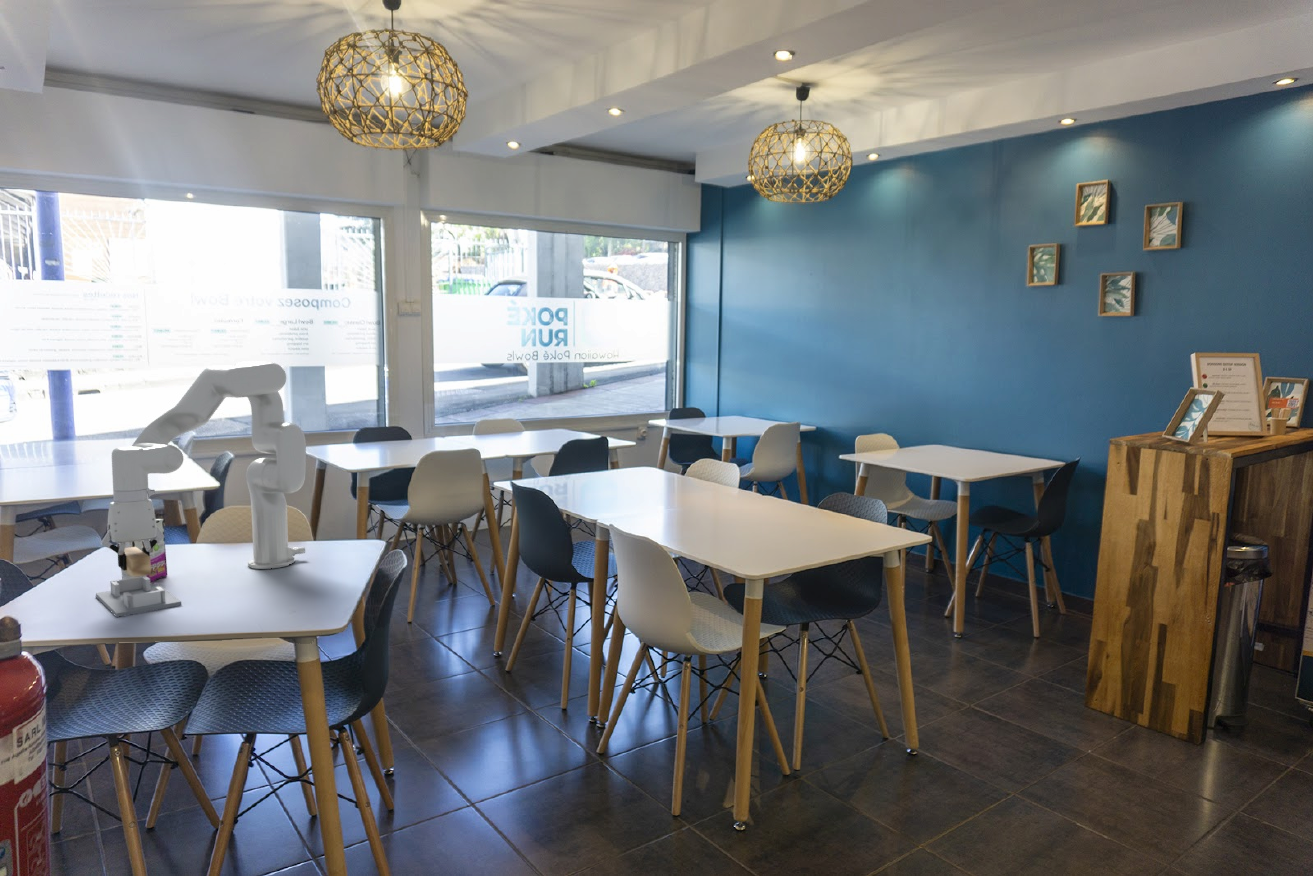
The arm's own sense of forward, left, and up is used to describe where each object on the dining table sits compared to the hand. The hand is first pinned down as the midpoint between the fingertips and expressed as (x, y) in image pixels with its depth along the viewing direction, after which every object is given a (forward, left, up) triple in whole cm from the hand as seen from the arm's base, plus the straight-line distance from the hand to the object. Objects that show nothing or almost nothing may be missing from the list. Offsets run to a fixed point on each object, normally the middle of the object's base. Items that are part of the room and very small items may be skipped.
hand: (134, 567), depth 216 cm
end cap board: (0, 0, -9) cm, 9 cm away
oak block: (0, 0, -1) cm, 1 cm away
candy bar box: (-6, -19, -9) cm, 22 cm away
